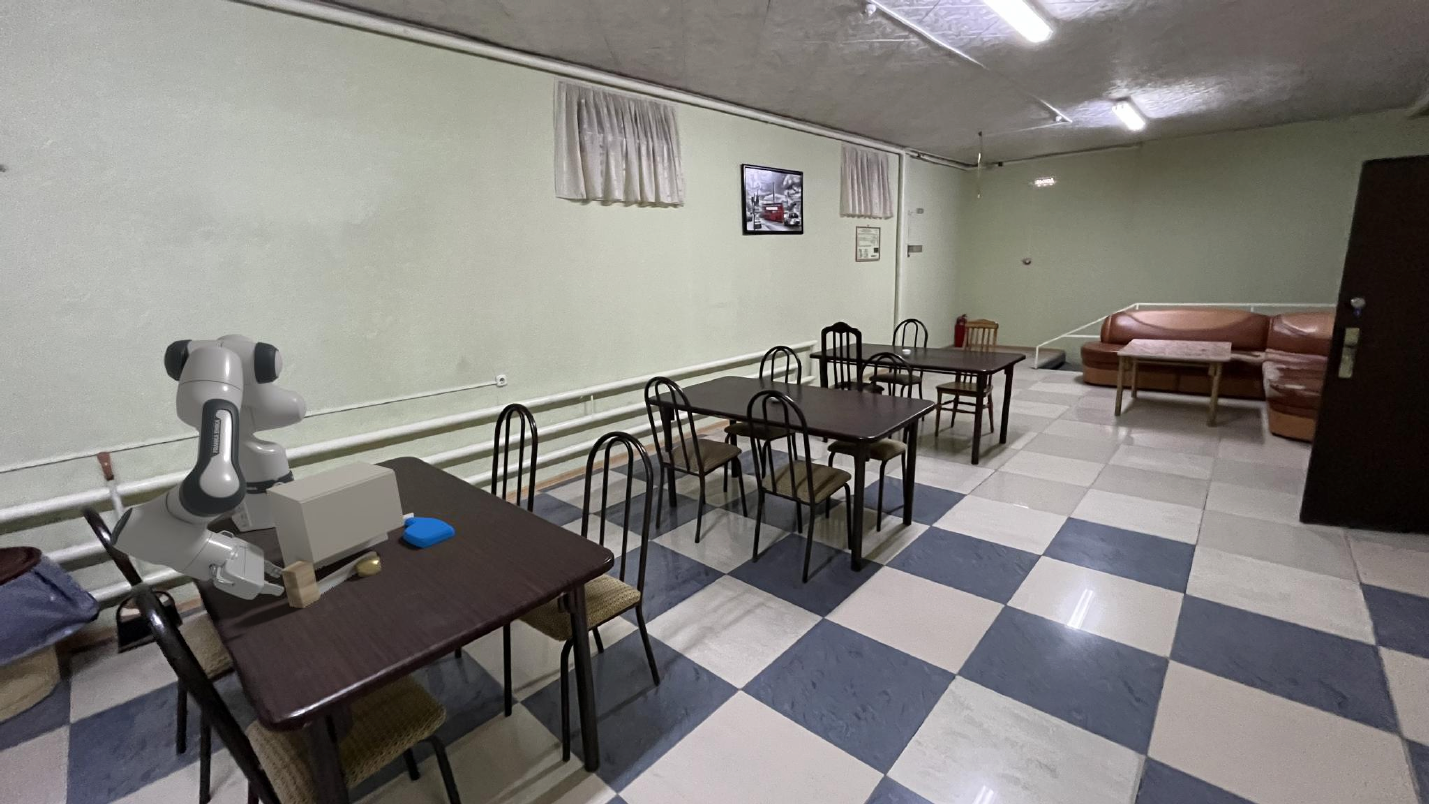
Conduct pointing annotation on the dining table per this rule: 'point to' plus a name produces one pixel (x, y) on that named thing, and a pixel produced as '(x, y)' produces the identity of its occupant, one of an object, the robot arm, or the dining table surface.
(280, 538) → the cabinet
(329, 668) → the dining table surface
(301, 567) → the wooden handled saw
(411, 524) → the spray bottle
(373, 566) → the brass puck
